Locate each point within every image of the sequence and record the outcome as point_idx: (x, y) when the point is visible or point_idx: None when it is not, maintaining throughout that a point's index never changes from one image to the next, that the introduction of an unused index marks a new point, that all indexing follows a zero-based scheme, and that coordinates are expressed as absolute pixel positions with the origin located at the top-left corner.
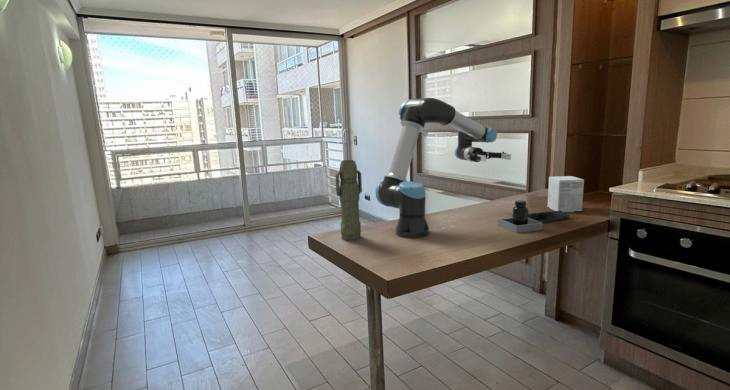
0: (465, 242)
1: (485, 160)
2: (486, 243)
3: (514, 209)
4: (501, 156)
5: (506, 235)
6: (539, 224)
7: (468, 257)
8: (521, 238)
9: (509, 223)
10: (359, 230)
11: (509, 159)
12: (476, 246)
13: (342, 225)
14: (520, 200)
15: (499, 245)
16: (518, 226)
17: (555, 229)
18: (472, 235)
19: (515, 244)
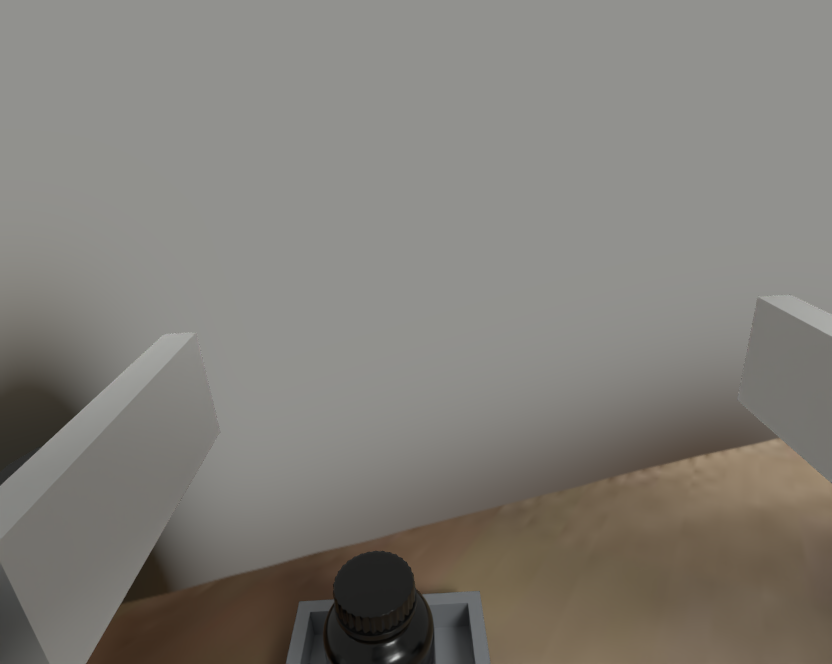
0: (796, 564)
1: (749, 381)
2: (686, 532)
3: (432, 618)
4: (47, 630)
5: (552, 600)
6: (325, 603)
7: (771, 446)
8: (501, 547)
9: (488, 655)
10: None
11: (215, 426)
12: (738, 514)
13: None
14: (355, 602)
15: (633, 503)
16: (467, 593)
17: (243, 615)
18: (759, 654)
19: (563, 499)
